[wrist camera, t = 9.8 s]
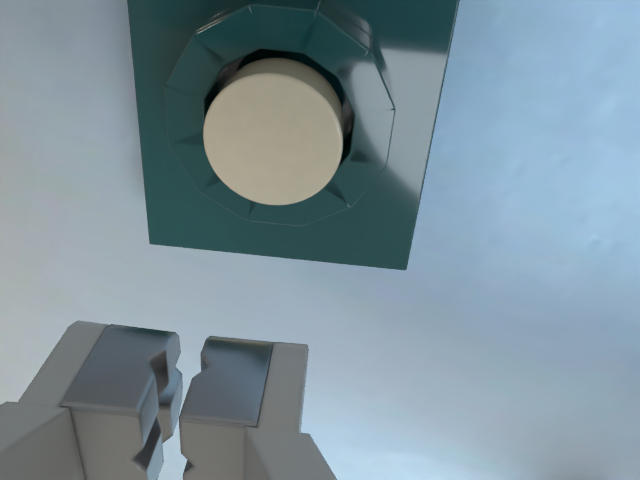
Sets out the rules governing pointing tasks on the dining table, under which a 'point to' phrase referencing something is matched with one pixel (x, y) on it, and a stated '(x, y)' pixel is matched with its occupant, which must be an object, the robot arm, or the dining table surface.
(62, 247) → the dining table surface
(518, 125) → the dining table surface
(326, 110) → the cream push button
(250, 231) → the teal push button box
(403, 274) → the dining table surface
